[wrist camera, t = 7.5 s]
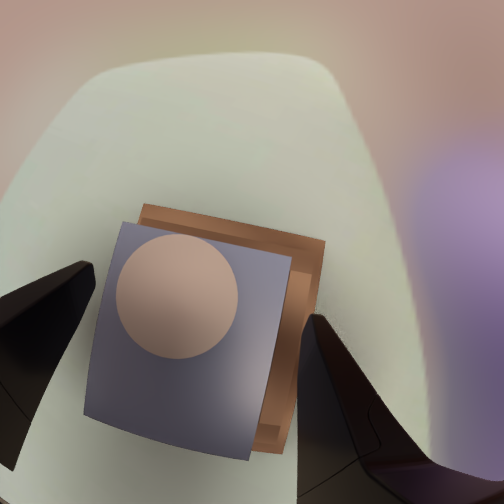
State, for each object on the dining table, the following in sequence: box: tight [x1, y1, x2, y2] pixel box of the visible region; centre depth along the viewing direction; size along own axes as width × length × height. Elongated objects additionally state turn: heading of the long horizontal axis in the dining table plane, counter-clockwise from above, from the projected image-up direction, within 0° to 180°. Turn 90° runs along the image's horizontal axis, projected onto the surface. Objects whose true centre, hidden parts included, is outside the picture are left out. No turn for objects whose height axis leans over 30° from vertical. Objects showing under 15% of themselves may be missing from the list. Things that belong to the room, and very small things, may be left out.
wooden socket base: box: [137, 204, 325, 454], centre depth 17 cm, size 14×12×3 cm
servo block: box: [84, 221, 292, 461], centre depth 12 cm, size 8×5×12 cm, turn 168°
